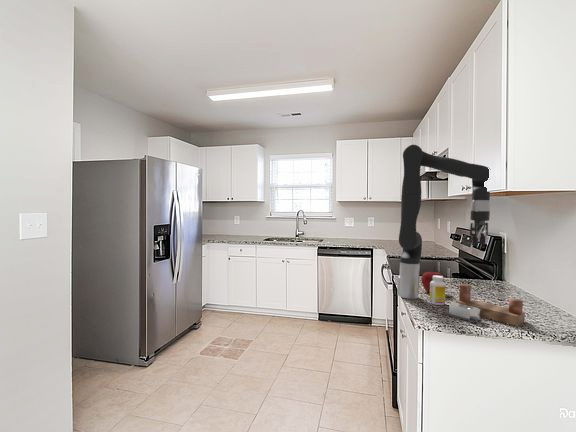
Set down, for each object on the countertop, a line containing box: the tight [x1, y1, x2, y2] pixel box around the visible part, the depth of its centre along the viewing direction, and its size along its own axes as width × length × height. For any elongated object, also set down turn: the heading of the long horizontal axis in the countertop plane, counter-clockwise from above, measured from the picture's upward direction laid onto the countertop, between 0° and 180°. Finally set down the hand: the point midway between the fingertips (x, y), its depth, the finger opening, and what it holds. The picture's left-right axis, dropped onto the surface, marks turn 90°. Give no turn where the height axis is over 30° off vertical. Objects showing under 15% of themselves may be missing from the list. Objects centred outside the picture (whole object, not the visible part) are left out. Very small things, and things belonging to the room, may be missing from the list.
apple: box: [420, 271, 445, 294], centre depth 167 cm, size 11×11×12 cm
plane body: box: [455, 283, 526, 327], centre depth 133 cm, size 23×9×11 cm, turn 39°
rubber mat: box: [443, 310, 482, 323], centre depth 131 cm, size 12×7×1 cm, turn 39°
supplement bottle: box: [429, 275, 446, 306], centre depth 148 cm, size 7×7×13 cm
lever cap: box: [448, 301, 481, 322], centre depth 130 cm, size 11×5×4 cm, turn 38°
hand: (478, 245), depth 146 cm, fingers open, 8 cm apart
